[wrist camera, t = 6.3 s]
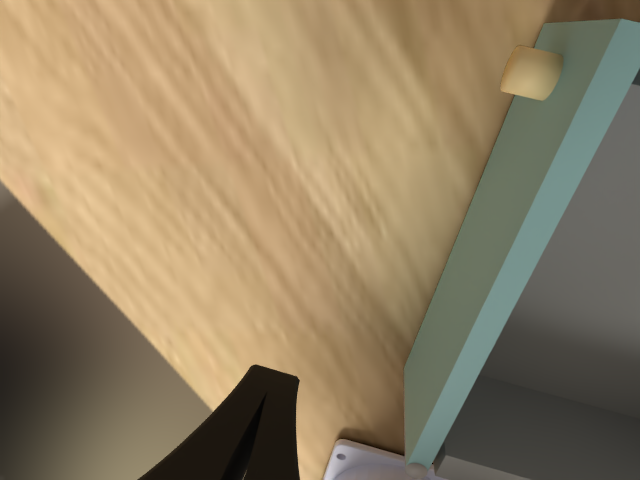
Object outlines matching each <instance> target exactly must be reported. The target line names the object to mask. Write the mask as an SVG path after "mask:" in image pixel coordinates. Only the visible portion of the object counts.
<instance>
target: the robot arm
mask: <svg viewBox="0 0 640 480" xmlns="http://www.w3.org/2000/svg"><path fill="white" fill-rule="evenodd" d="M299 382H300V380H299V379H298V377H297V376H293V375H290V374H286V373H283V372H280V371H276V370H273V369H269V368H266V367H263V366H259V365H256V364H255V365H253V366H251V367H250V368H249V370H248V371H247V373H246V374H245V376H244V377H243V378H242V380H241V381H240V382H239V383H238V385H237V386H236V387H235V388H234V390H233V391H232V392H231V393H230V394H229V395H228V397H227V398H226V399H225V400H224V401H223V402H222V403H221V404H220V405H219V406H218V407H217V408H216V410H215V411H214V412H213V413H212V414H211V415H210V416H209V417H208V418H207V419H206V420H205V421H204V422H203V423H202V424H201V425H200V426H199V427H198V428H197V429H196V430H195V431H194V432H193V433H192V434H191V435H189V436H188V438H186V439H185V440H184V441H183V442H182V443H181V444H180V445H179V446H178V447H177V448H176V449H174V450H173V451H172V452H171V453H170V454H169V455H167V456H166V457H165V458H164V459H163V460H162V461H160V462H159V463H158V464H157V465H156V466H154V467H153V468H152V469H151V470H149V471H148V472H147V473H146V474H144V475H143V476H142V477H140V478H139V479H138V480H242V479H243V477H244V475H245V473H246V475H245V477H244V480H300V477H299V468H298V457H297V440H296V402H297V392H298V386H299ZM246 470H247V471H246ZM323 480H448V479H444V478H441V477H437V476H435V472H434V465H433V464H432V465H431V466H430V468H429V470H428V472H427V475H426V476H425V477H424V478H421V479H414V478H411V477H409V476H408V475H407V474H406V473H405V456H402V455H398V454H395V453H391V452H388V451H384V450H381V449H378V448H374V447H371V446H367V445H364V444H360V443H357V442H353V441H350V440H346V439H339V440H337V441H336V442H335V445H334V448H333V451H332V454H331V456H330V459H329V462H328V465H327V468H326V471H325V474H324V477H323Z"/></svg>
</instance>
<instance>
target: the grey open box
mask: <svg viewBox="0 0 640 480" xmlns="http://www.w3.org/2000/svg"><path fill="white" fill-rule="evenodd" d="M434 472H435V476H437V477H441V478H444V479H448V480H640V68H639V70H638V72H637V74H636V76H635V78H634V80H633V82H632V84H631V86H630V87H629V89H628V91H627V93H626V95H625V97H624V99H623V101H622V103H621V105H620V107H619V108H618V110H617V112H616V114H615V116H614V118H613V120H612V122H611V124H610V126H609V127H608V129H607V131H606V133H605V135H604V137H603V139H602V141H601V143H600V145H599V147H598V148H597V150H596V152H595V154H594V156H593V158H592V160H591V162H590V164H589V166H588V167H587V169H586V171H585V173H584V175H583V177H582V179H581V181H580V183H579V185H578V187H577V188H576V190H575V192H574V194H573V196H572V198H571V200H570V202H569V204H568V206H567V207H566V209H565V211H564V213H563V215H562V217H561V219H560V221H559V223H558V225H557V227H556V228H555V230H554V232H553V234H552V236H551V238H550V240H549V242H548V244H547V246H546V247H545V249H544V251H543V253H542V255H541V257H540V259H539V261H538V263H537V265H536V267H535V268H534V270H533V272H532V274H531V276H530V278H529V280H528V282H527V284H526V286H525V287H524V289H523V291H522V293H521V295H520V297H519V299H518V301H517V303H516V305H515V306H514V308H513V310H512V312H511V314H510V316H509V318H508V320H507V322H506V324H505V326H504V327H503V329H502V331H501V333H500V335H499V337H498V339H497V341H496V343H495V345H494V346H493V348H492V350H491V352H490V354H489V356H488V358H487V360H486V362H485V364H484V366H483V367H482V369H481V371H480V373H479V375H478V377H477V379H476V381H475V383H474V385H473V386H472V388H471V390H470V392H469V394H468V396H467V398H466V400H465V402H464V404H463V406H462V407H461V409H460V411H459V413H458V415H457V417H456V419H455V421H454V423H453V425H452V426H451V428H450V430H449V432H448V434H447V436H446V438H445V440H444V442H443V444H442V446H441V447H440V449H439V451H438V453H437V455H436V457H435V459H434Z"/></svg>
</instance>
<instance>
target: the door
mask: <svg viewBox="0 0 640 480" xmlns="http://www.w3.org/2000/svg"><path fill="white" fill-rule="evenodd" d="M639 68H640V23H639V22H634V21H630V20H625V19H607V20H590V21H574V22H557V23H544V25H543V27H542V30H541V32H540V34H539V37H538V39H537V42H536V44H535V47H534V48H530V47H525V46H521V45H519V46H517V47H516V48H515V50H514V51H513V53H512V54H511V56H510V58H509V60H508V62H507V65H506V67H505V70H504V73H503V76H502V80H501V91H502V92H506V93H510V94H515V96H514V98H513V101H512V103H511V106H510V108H509V111H508V113H507V116H506V118H505V121H504V123H503V126H502V128H501V130H500V133H499V135H498V138H497V140H496V143H495V145H494V148H493V150H492V153H491V155H490V158H489V160H488V162H487V165H486V167H485V170H484V172H483V175H482V177H481V180H480V182H479V185H478V187H477V190H476V192H475V194H474V197H473V199H472V202H471V204H470V207H469V209H468V212H467V214H466V217H465V219H464V222H463V224H462V226H461V229H460V231H459V234H458V236H457V239H456V241H455V244H454V246H453V249H452V251H451V254H450V256H449V258H448V261H447V263H446V266H445V268H444V271H443V273H442V276H441V278H440V281H439V283H438V286H437V288H436V290H435V293H434V295H433V298H432V300H431V303H430V305H429V308H428V310H427V313H426V315H425V317H424V320H423V322H422V325H421V327H420V330H419V332H418V335H417V337H416V340H415V342H414V345H413V347H412V349H411V352H410V354H409V357H408V359H407V362H406V364H405V367H404V368H403V388H404V441H405V473H406V474H407V475H408V476H409V477H411V478H414V479H421V478H424V477H425V476H426V475H427V472H428V470H429V468H430V466H431V465H432V463H433V461H434V459H435V457H436V455H437V453H438V451H439V449H440V447H441V446H442V444H443V442H444V440H445V438H446V436H447V434H448V432H449V430H450V428H451V426H452V425H453V423H454V421H455V419H456V417H457V415H458V413H459V411H460V409H461V407H462V406H463V404H464V402H465V400H466V398H467V396H468V394H469V392H470V390H471V388H472V386H473V385H474V383H475V381H476V379H477V377H478V375H479V373H480V371H481V369H482V367H483V366H484V364H485V362H486V360H487V358H488V356H489V354H490V352H491V350H492V348H493V346H494V345H495V343H496V341H497V339H498V337H499V335H500V333H501V331H502V329H503V327H504V326H505V324H506V322H507V320H508V318H509V316H510V314H511V312H512V310H513V308H514V306H515V305H516V303H517V301H518V299H519V297H520V295H521V293H522V291H523V289H524V287H525V286H526V284H527V282H528V280H529V278H530V276H531V274H532V272H533V270H534V268H535V267H536V265H537V263H538V261H539V259H540V257H541V255H542V253H543V251H544V249H545V247H546V246H547V244H548V242H549V240H550V238H551V236H552V234H553V232H554V230H555V228H556V227H557V225H558V223H559V221H560V219H561V217H562V215H563V213H564V211H565V209H566V207H567V206H568V204H569V202H570V200H571V198H572V196H573V194H574V192H575V190H576V188H577V187H578V185H579V183H580V181H581V179H582V177H583V175H584V173H585V171H586V169H587V167H588V166H589V164H590V162H591V160H592V158H593V156H594V154H595V152H596V150H597V148H598V147H599V145H600V143H601V141H602V139H603V137H604V135H605V133H606V131H607V129H608V127H609V126H610V124H611V122H612V120H613V118H614V116H615V114H616V112H617V110H618V108H619V107H620V105H621V103H622V101H623V99H624V97H625V95H626V93H627V91H628V89H629V87H630V86H631V84H632V82H633V80H634V78H635V76H636V74H637V72H638V70H639Z"/></svg>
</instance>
